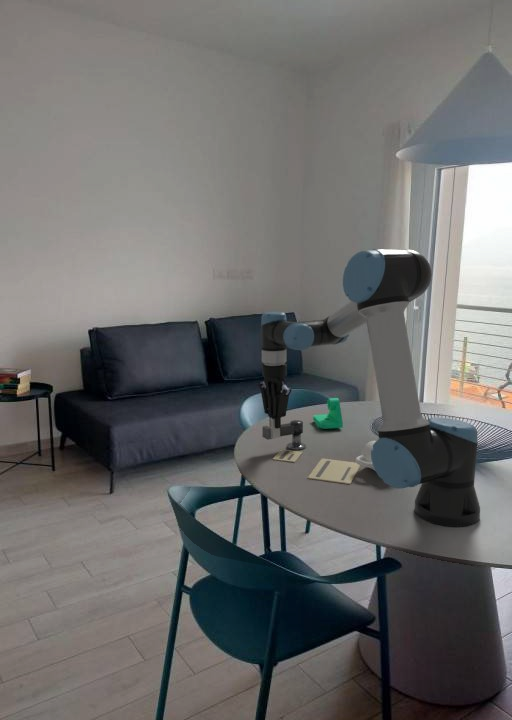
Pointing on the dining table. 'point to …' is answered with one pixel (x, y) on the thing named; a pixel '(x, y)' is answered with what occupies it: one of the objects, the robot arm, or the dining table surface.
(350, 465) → the label card
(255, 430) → the dining table surface
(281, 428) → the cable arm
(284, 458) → the label card
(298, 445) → the grey mushroom knob
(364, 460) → the mug
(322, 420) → the camera mount
